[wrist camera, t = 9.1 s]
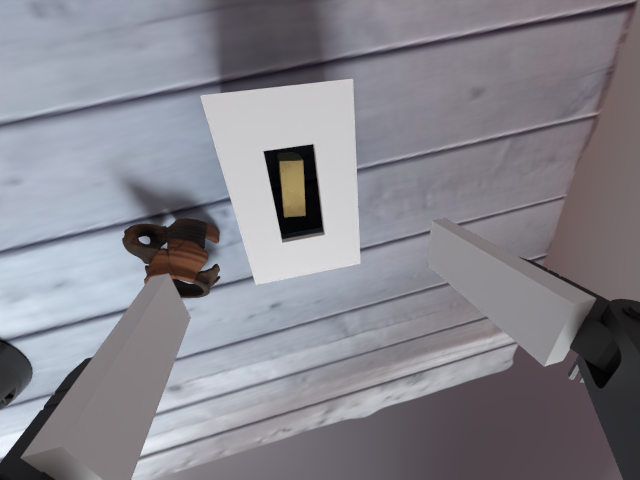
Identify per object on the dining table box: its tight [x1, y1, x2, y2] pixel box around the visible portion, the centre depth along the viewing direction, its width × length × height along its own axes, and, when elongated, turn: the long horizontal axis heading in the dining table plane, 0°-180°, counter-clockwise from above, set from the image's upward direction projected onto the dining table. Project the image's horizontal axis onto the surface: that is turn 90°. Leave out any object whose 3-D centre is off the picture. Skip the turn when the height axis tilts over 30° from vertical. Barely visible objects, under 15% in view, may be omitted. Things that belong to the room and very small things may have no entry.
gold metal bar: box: [277, 152, 306, 217], centre depth 29 cm, size 2×6×7 cm, turn 1°
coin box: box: [200, 79, 360, 285], centre depth 27 cm, size 12×18×10 cm, turn 6°
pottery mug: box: [122, 218, 220, 298], centre depth 31 cm, size 12×10×8 cm
